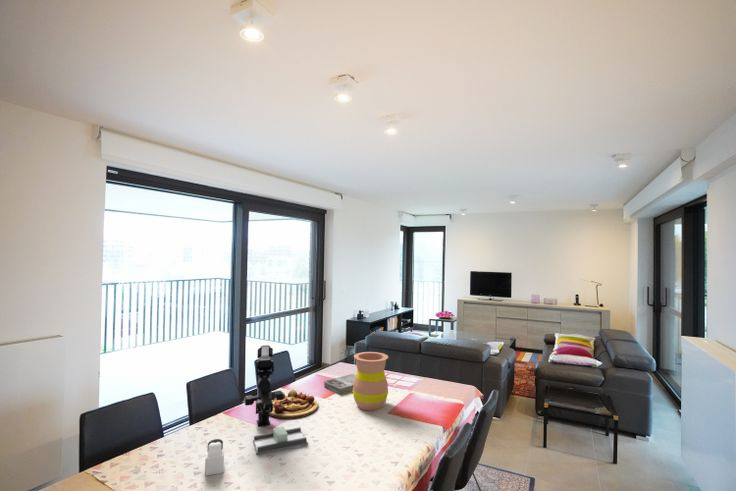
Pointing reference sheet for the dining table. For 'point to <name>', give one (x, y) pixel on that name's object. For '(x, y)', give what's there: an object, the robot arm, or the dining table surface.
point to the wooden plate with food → (294, 406)
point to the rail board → (268, 444)
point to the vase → (370, 381)
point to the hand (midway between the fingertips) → (263, 414)
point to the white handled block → (214, 457)
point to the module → (280, 434)
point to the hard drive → (340, 384)
